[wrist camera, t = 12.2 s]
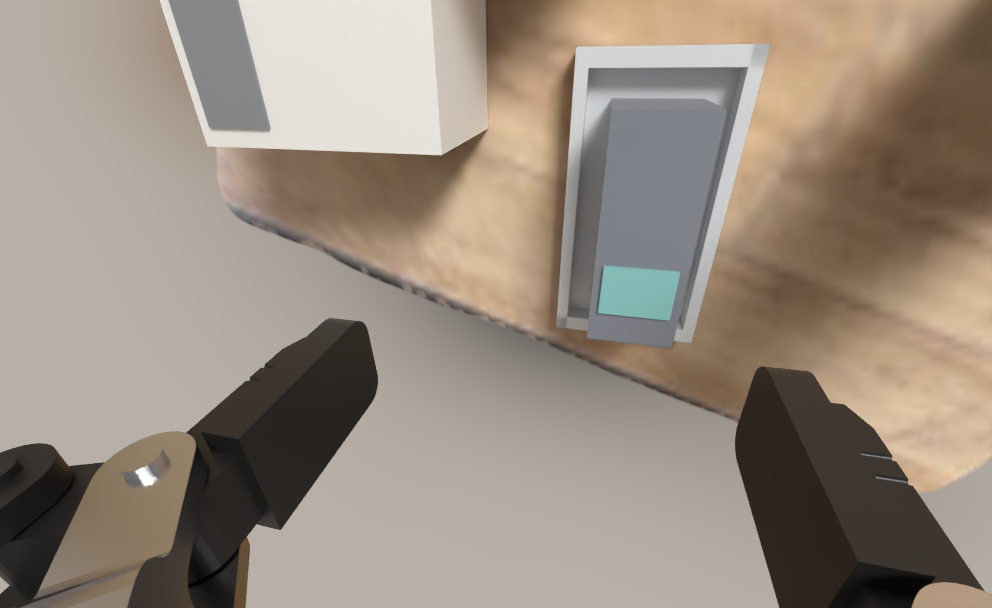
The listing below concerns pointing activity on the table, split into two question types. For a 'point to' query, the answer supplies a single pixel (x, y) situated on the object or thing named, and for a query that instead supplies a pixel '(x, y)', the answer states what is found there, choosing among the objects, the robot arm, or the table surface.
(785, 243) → the table surface
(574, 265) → the tray
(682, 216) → the slab with teal patch
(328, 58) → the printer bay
